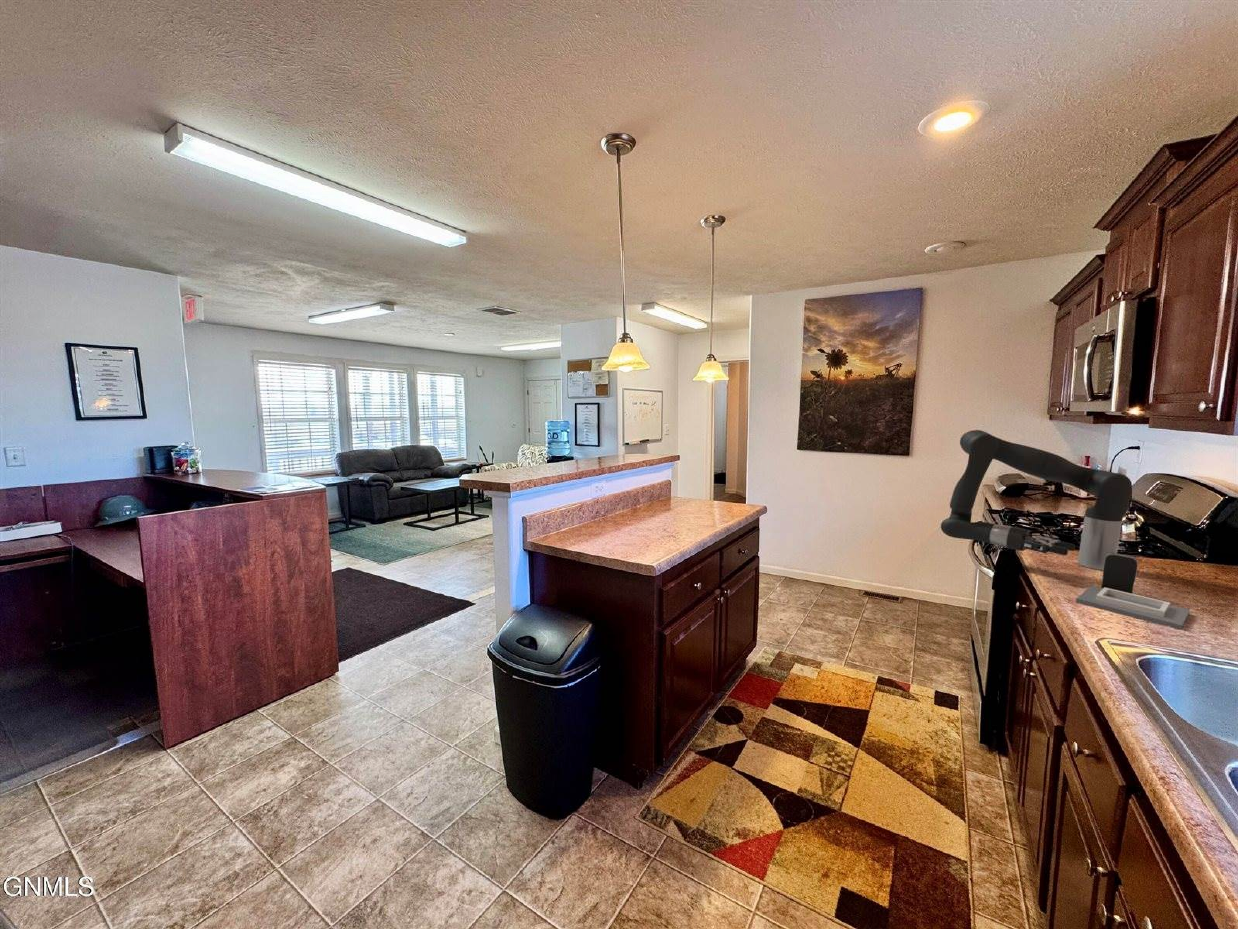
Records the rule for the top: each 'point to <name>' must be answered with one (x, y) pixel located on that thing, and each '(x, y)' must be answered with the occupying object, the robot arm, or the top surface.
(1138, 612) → the holder
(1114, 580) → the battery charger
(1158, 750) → the top surface
